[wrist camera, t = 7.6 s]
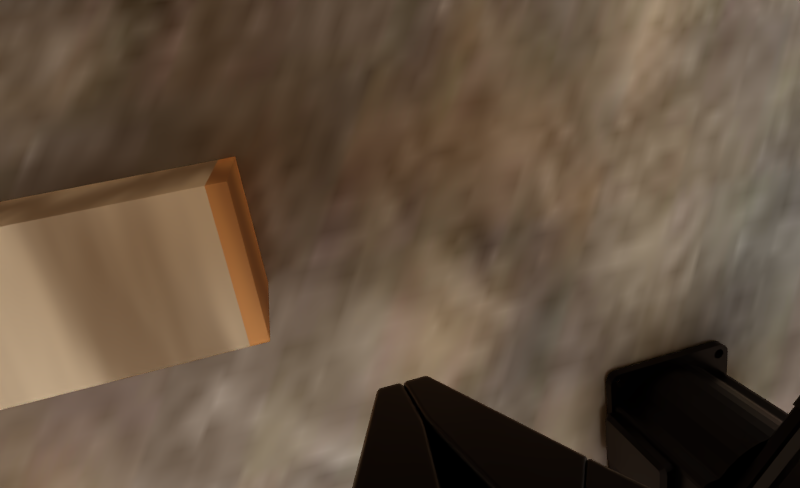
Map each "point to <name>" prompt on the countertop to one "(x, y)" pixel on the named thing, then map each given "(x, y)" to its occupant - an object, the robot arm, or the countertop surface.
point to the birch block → (127, 279)
